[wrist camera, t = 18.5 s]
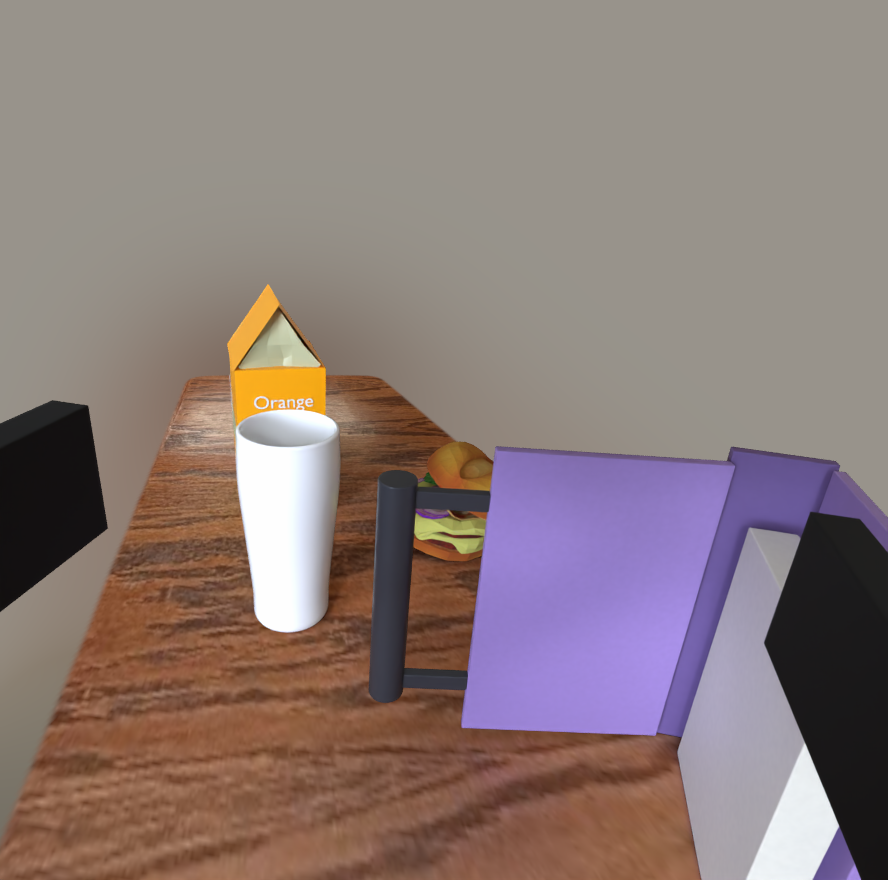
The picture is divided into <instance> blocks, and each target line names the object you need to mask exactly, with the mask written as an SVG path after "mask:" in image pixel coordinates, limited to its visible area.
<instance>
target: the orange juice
mask: <svg viewBox="0 0 888 880" xmlns="http://www.w3.org/2000/svg"><path fill="white" fill-rule="evenodd" d="M227 346H228V351H229V356H230V372H231V385H230V386H231V390H232V392H231V393H232V394H230V395H232V403H231V404H232V405H231V406H232V414H233V428H234V441H235V458H236V427H237V426H238V424H239V423H240V422H241V421H242V420H244V419H246V418H247V417H250V416H252V415H255V414H258V413H262V412H266V411H273V410H287V409H291V410H305V411H311V412H316V413H320V414H323V415H325V390H326V368H325V366H324V365H323V363H322V361H321V360H320V358H319V356H318V355H317V353H316V351H315V350H314V348H313V346H312V345H311V343H310V341H308V340H307V339H306V338H305V337H304V335H303V333H302V332H301V331H300V329H299V328H298V327H297V325H296V324H295V323H294V322H293V320H292V318H291V317H290V316H289V314H288V313H287V312H286V311H285V309H284V308H283V306H282V305H281V303H280V302H279V301H278V299H277V298H276V297H275V295H274V293H273V291H272V290H271V288H270V286H269V284H268V285H267V286H266V288H265V289H264V291H263V292H262V294H261V295H260V297H259V298H258V300H257V301H256V302H255V304H254V305H253V307H252V308H251V310H250V311H249V313H248V314H247V316H246V317H245V319H244V320H243V321H242V323H241V324H240V326H239V327H238V329H237V330H236V332H235V333H234V335H233V336H232V338H231V339H230V341H229V342H228V344H227ZM229 379H230V375H229ZM236 476H237V475H236Z"/></svg>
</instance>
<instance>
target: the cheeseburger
mask: <svg viewBox="0 0 888 880" xmlns="http://www.w3.org/2000/svg"><path fill="white" fill-rule="evenodd" d="M493 463H494V462H493V461H492V460H490V459H489V458H488V457H487V456H486V455H485V454H484V453H483V452H482V451H481V450H480V449H478V448H477V447H475V446H474V445H472V444H469V443H467V442H451V443H449V444H447V445H445V446H443V447H441V448H439V449H437V450H436V451H435V452H434V453H433V454H432V455H431V456H430V457H429V459H428V462H427V469H428V471H429V472H428V473H426V476H425V477H424V478H420V479H418V486H419V487H436V488H452V489H469V490H486V491H490V487H491V479H492V471H493ZM486 519H487V512H471V511H453V510H436V509H419V508H416V516H415V530H414V544H413V547H414V548H416V549H418V550H420V551H422V552H424V553H426V554H429V555H432V556H435V557H438V558H440V559H443V560H446V561H469V560H472V559H475V558H477V557H480V556H482V551H483V543H484V535H485V527H486Z"/></svg>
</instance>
